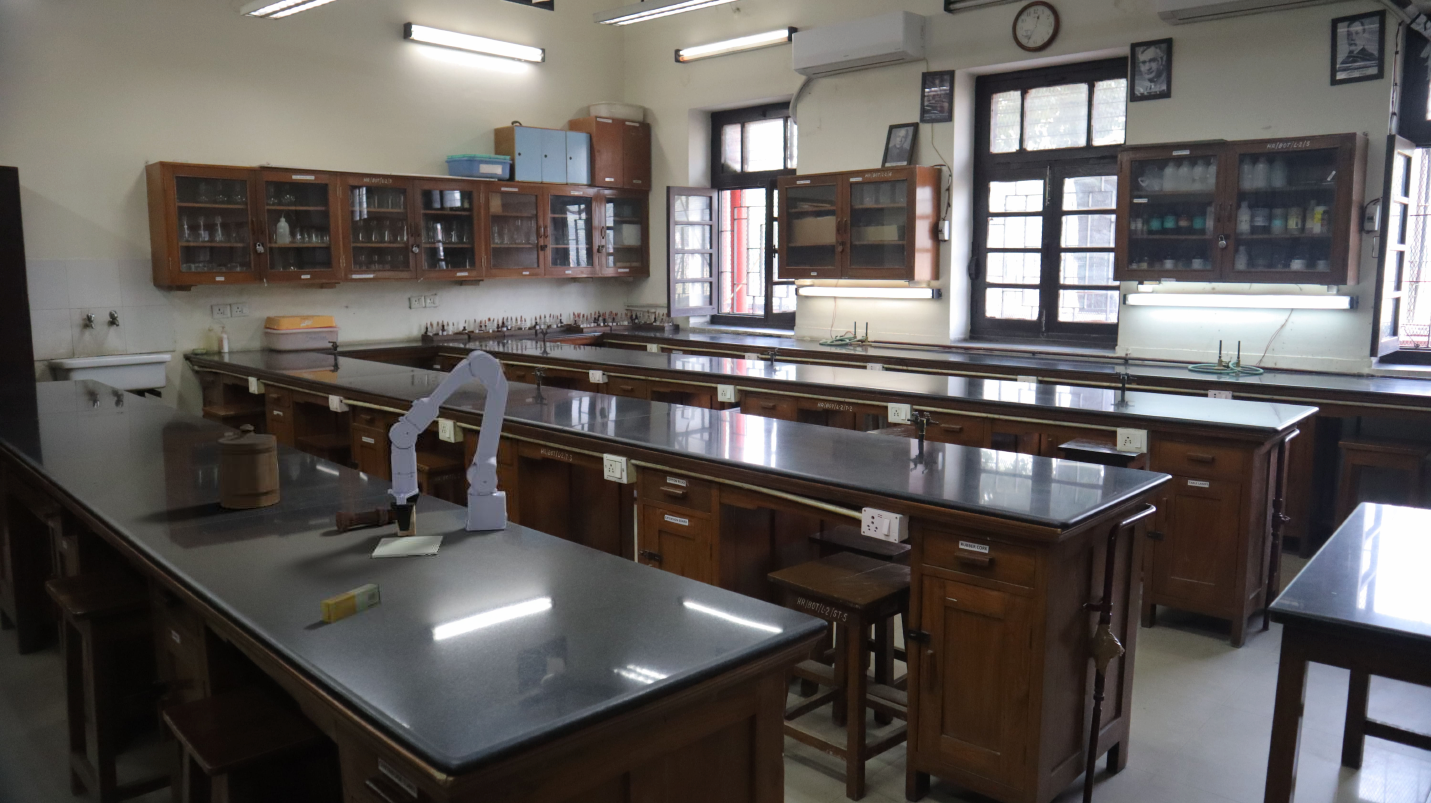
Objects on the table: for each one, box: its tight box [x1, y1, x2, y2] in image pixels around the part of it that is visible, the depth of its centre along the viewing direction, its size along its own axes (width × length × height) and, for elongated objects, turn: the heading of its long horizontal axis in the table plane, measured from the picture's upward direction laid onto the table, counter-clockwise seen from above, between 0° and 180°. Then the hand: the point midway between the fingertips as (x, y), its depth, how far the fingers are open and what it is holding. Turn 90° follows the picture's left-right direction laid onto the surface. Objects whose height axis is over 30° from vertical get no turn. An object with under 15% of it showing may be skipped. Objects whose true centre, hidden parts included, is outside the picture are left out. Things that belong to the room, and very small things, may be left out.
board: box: [371, 535, 444, 559], centre depth 225 cm, size 14×14×1 cm
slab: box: [396, 505, 417, 537], centre depth 236 cm, size 4×2×7 cm, turn 100°
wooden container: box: [217, 423, 281, 510], centre depth 266 cm, size 15×15×22 cm
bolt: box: [335, 506, 397, 533], centre depth 244 cm, size 6×5×15 cm
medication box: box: [320, 582, 382, 624], centre depth 183 cm, size 12×3×4 cm, turn 152°
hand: (406, 526), depth 236 cm, fingers open, 7 cm apart
